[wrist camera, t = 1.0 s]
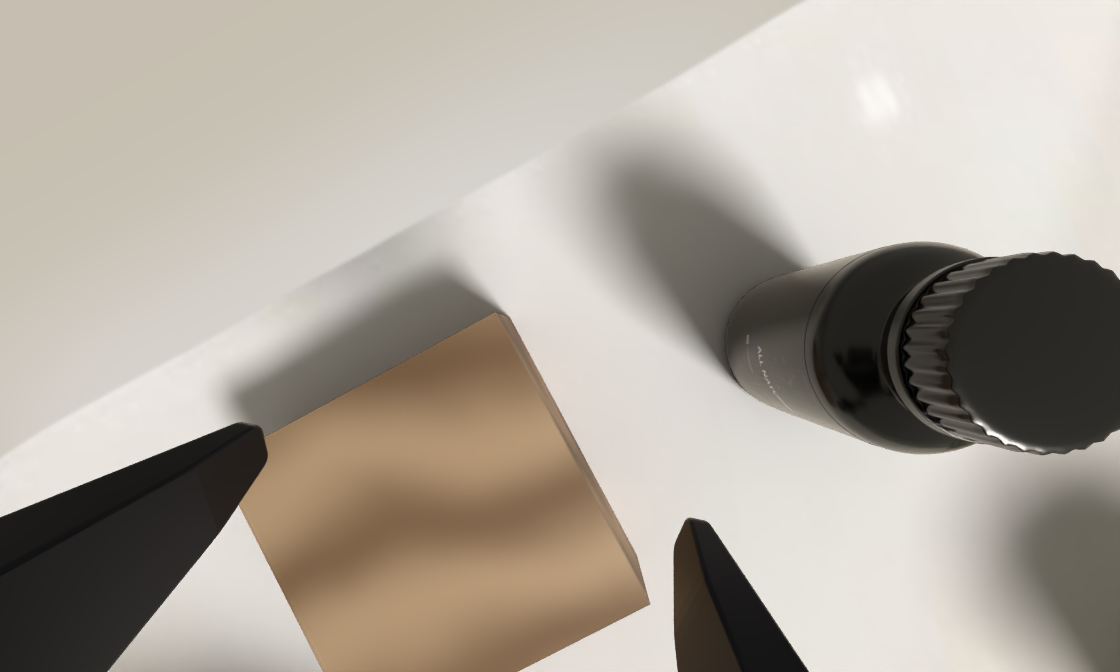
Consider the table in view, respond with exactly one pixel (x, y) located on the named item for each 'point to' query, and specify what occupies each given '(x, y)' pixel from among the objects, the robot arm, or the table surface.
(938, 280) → the supplement bottle
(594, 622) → the block
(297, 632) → the table surface
